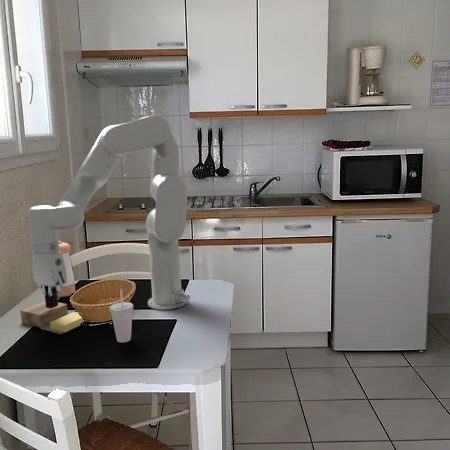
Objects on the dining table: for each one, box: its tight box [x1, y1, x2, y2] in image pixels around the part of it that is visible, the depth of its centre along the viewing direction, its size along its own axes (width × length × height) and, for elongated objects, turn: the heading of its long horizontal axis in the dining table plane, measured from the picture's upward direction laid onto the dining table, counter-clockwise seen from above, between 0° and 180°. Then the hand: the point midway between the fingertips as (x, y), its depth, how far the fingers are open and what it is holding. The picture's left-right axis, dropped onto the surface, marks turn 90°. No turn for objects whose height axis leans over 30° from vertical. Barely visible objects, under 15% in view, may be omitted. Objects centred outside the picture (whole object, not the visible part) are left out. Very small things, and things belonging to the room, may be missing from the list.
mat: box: [40, 324, 65, 335], centre depth 147 cm, size 9×11×1 cm
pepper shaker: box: [57, 240, 76, 298], centre depth 174 cm, size 7×7×19 cm
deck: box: [19, 300, 69, 329], centre depth 151 cm, size 9×10×4 cm
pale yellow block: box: [50, 311, 84, 333], centre depth 146 cm, size 9×6×2 cm, turn 149°
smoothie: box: [108, 289, 134, 344], centre depth 134 cm, size 6×6×14 cm
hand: (52, 306), depth 149 cm, fingers closed
